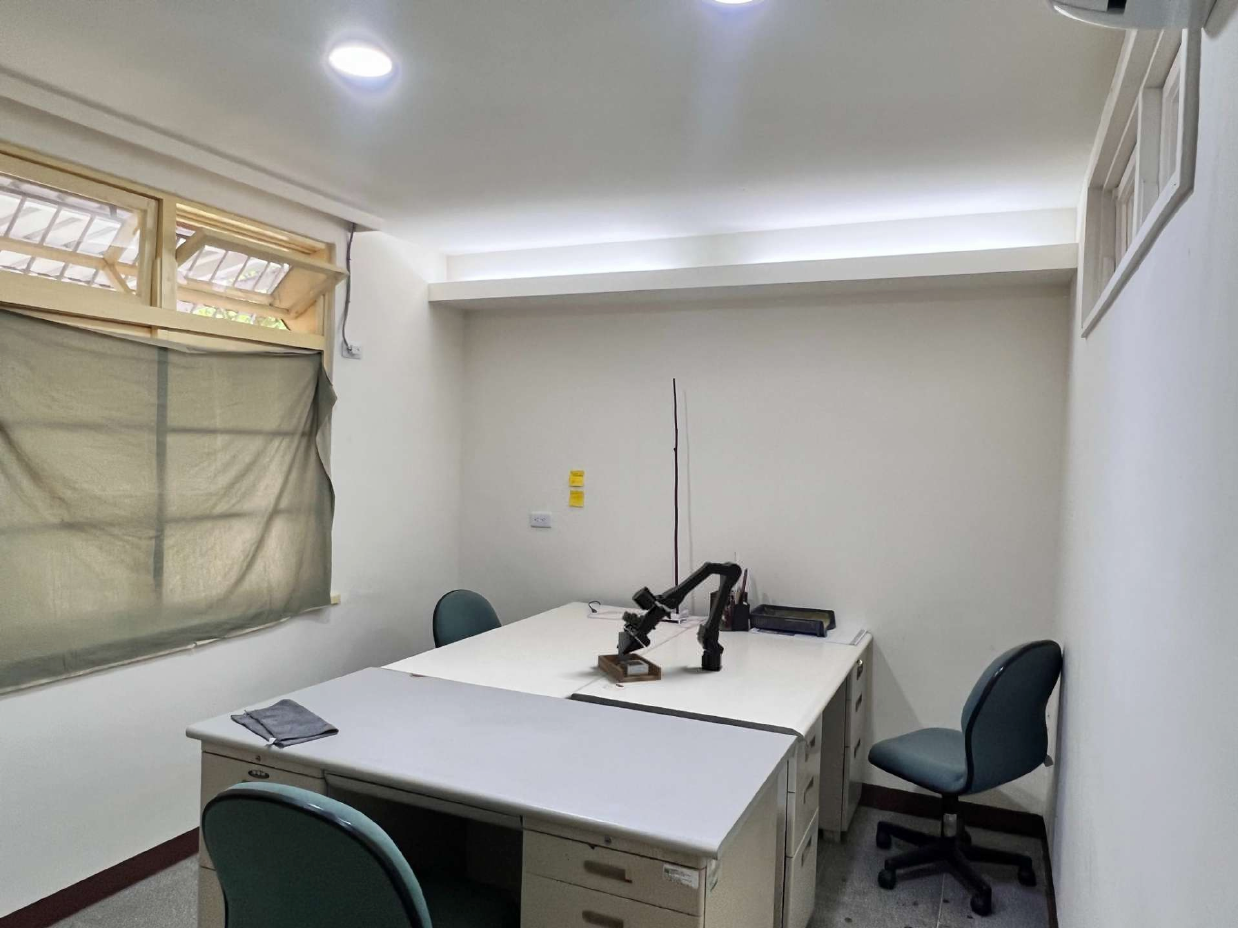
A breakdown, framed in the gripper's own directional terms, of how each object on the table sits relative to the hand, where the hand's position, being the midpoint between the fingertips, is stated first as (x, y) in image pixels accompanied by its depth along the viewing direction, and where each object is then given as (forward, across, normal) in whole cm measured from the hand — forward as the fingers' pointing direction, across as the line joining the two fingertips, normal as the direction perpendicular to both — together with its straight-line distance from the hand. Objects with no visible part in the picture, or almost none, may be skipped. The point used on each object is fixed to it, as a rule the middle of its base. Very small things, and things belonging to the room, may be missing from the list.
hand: (620, 651), depth 292 cm
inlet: (+3, +10, +7) cm, 12 cm away
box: (+4, +5, +6) cm, 9 cm away
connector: (+4, 0, +6) cm, 7 cm away
